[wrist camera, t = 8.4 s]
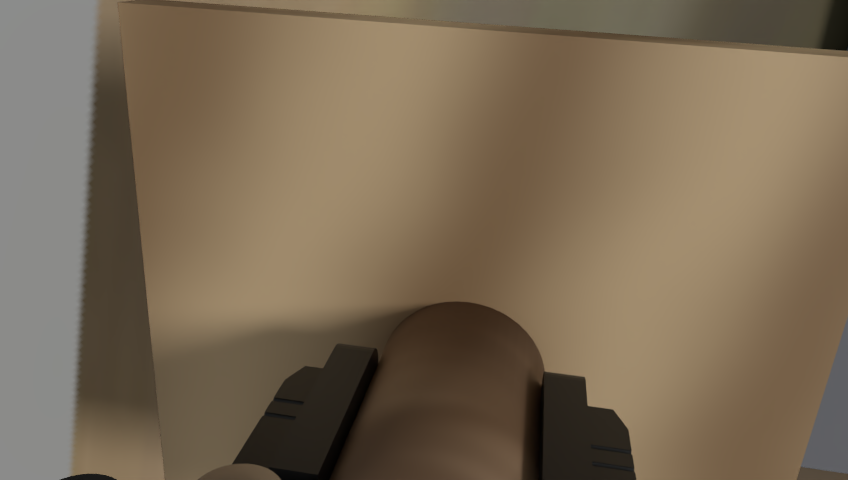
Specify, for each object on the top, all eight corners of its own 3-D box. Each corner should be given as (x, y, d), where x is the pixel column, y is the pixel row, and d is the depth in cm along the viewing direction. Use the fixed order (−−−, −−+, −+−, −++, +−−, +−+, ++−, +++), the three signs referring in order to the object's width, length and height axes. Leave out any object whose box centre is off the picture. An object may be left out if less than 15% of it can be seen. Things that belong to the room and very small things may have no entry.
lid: (897, 54, 12) (1393, 197, 5) (725, 632, 17) (849, 1114, 10) (147, -1, 13) (-283, 46, 6) (192, 538, 18) (-25, 890, 11)
